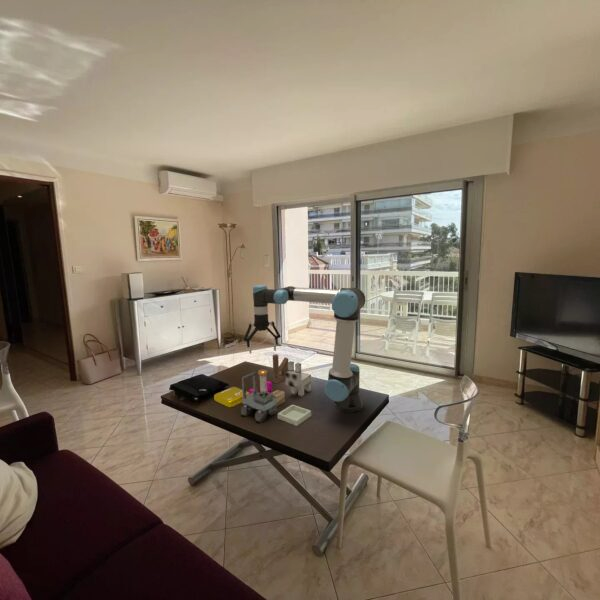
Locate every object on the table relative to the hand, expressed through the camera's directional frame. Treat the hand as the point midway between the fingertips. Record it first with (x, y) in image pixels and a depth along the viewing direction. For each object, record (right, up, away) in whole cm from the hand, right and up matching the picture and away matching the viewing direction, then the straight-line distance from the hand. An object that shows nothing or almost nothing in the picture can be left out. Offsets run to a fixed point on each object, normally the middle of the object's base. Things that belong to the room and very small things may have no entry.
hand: (262, 351), depth 175 cm
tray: (+18, -31, -16) cm, 39 cm away
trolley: (0, -30, -13) cm, 33 cm away
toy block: (-1, -28, +5) cm, 29 cm away
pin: (+2, -22, -16) cm, 27 cm away
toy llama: (+21, -27, +12) cm, 36 cm away
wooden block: (+8, -24, +30) cm, 40 cm away
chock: (+8, -28, 0) cm, 30 cm away
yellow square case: (-18, -29, +4) cm, 34 cm away
